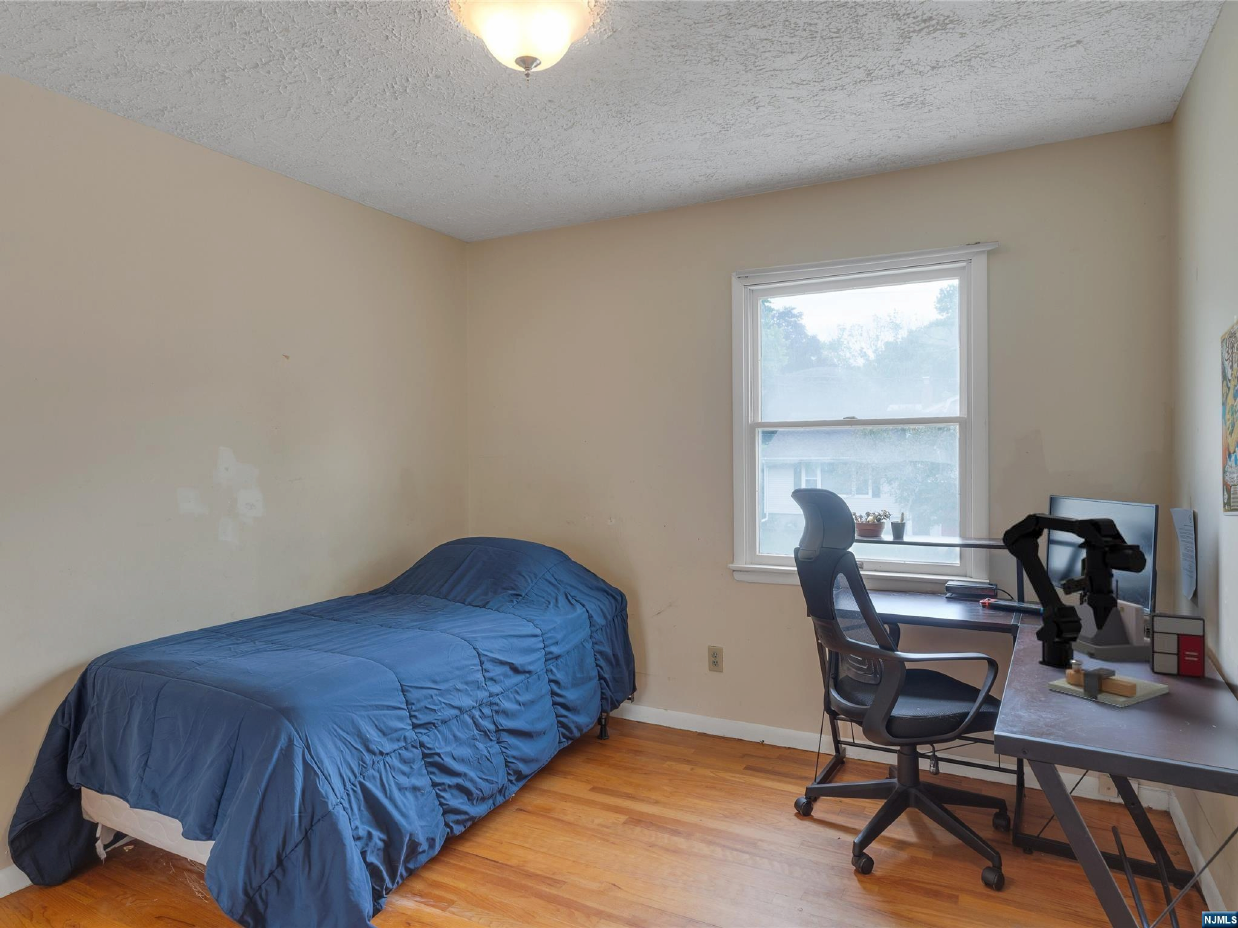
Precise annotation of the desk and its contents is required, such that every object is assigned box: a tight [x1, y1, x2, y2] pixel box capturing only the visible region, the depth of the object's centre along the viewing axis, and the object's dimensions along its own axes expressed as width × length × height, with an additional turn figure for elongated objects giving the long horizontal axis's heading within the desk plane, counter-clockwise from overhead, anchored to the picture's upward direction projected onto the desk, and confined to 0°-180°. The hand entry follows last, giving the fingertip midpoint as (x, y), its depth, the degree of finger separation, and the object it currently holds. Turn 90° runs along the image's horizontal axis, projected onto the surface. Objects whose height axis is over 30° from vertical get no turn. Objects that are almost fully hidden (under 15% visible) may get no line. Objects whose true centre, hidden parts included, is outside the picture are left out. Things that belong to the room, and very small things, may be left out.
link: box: [1065, 669, 1136, 697], centre depth 172 cm, size 14×4×2 cm, turn 32°
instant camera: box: [1070, 597, 1150, 661], centre depth 213 cm, size 21×21×15 cm
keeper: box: [1070, 659, 1116, 699], centre depth 173 cm, size 8×8×7 cm
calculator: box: [1149, 612, 1206, 679], centre depth 190 cm, size 11×4×15 cm, turn 62°
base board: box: [1047, 673, 1169, 708], centre depth 176 cm, size 16×22×2 cm
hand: (1099, 629), depth 187 cm, fingers closed
